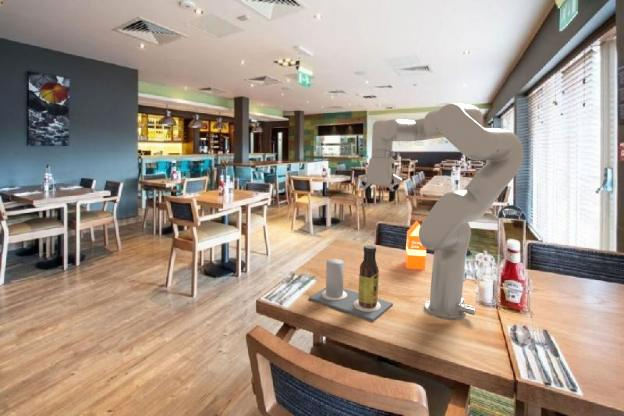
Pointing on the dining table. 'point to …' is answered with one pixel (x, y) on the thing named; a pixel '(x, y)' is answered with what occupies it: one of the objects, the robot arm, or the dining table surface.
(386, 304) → the board
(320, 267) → the dining table surface
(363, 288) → the sauce bottle
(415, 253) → the orange juice
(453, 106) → the robot arm
